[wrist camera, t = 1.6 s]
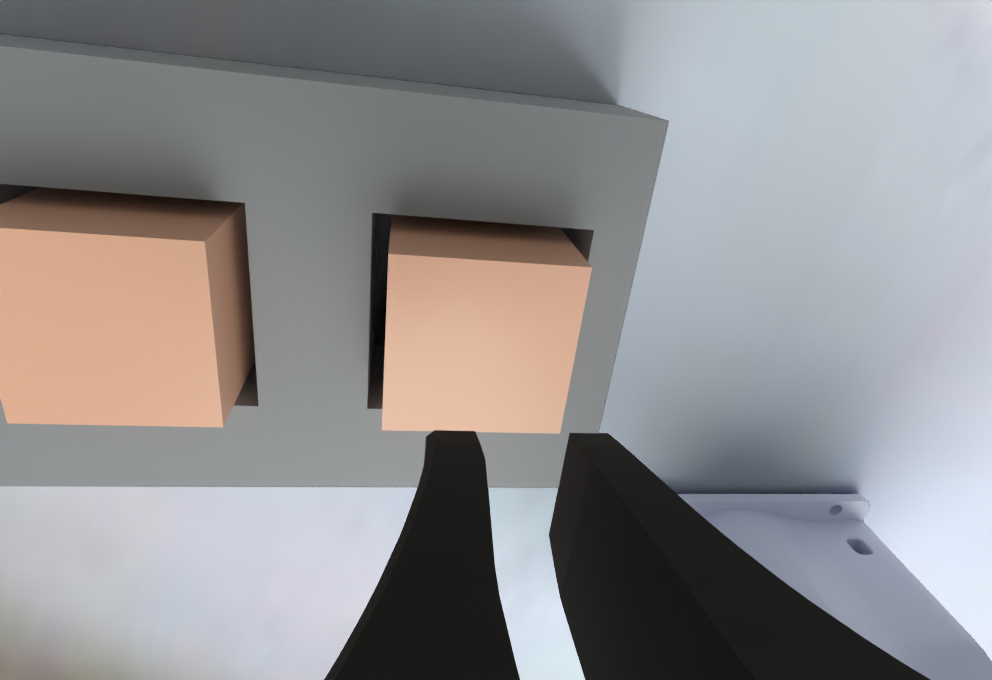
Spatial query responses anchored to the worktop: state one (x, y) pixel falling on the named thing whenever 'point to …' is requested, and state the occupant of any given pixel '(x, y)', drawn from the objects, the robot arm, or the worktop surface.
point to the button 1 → (123, 309)
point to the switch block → (320, 242)
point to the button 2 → (480, 325)
